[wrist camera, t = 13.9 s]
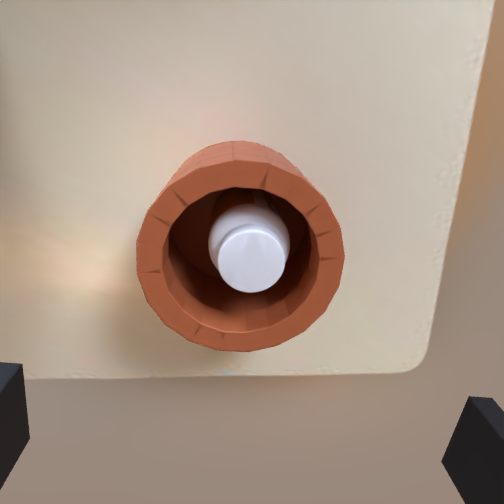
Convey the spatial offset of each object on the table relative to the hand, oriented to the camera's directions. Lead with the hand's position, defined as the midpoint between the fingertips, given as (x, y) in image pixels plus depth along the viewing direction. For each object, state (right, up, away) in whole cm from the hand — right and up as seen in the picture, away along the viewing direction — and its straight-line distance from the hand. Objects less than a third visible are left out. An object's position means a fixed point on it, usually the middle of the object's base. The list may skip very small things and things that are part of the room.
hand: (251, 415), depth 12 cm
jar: (-1, +8, +21) cm, 22 cm away
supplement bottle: (-1, +8, +20) cm, 22 cm away
